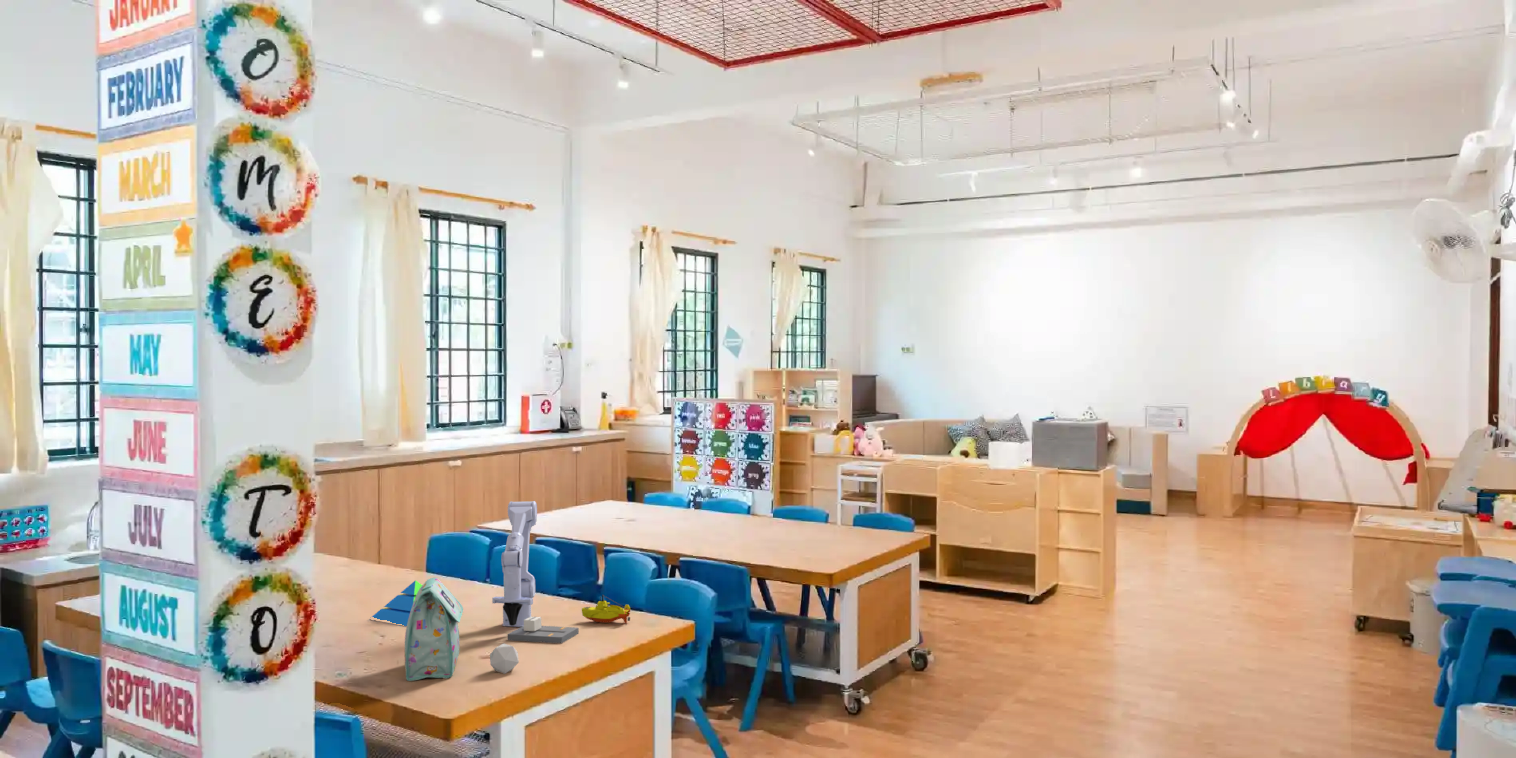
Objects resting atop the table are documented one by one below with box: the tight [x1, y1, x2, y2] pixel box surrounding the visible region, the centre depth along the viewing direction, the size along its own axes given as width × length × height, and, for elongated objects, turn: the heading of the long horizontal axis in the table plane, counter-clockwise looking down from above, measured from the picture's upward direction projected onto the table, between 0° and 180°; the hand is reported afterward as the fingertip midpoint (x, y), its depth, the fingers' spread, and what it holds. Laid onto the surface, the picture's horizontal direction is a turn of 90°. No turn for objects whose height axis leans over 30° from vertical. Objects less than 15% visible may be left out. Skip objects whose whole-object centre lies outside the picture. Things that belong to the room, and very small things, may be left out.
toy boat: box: [581, 594, 631, 624], centre depth 357 cm, size 6×18×10 cm, turn 78°
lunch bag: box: [404, 577, 464, 682], centre depth 301 cm, size 23×16×27 cm
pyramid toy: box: [371, 580, 423, 627], centre depth 370 cm, size 25×25×14 cm
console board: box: [506, 625, 580, 644], centre depth 338 cm, size 20×13×2 cm, turn 75°
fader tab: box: [524, 616, 542, 631], centre depth 339 cm, size 4×5×4 cm
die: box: [489, 642, 520, 675], centre depth 299 cm, size 8×9×10 cm
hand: (512, 624), depth 341 cm, fingers closed
